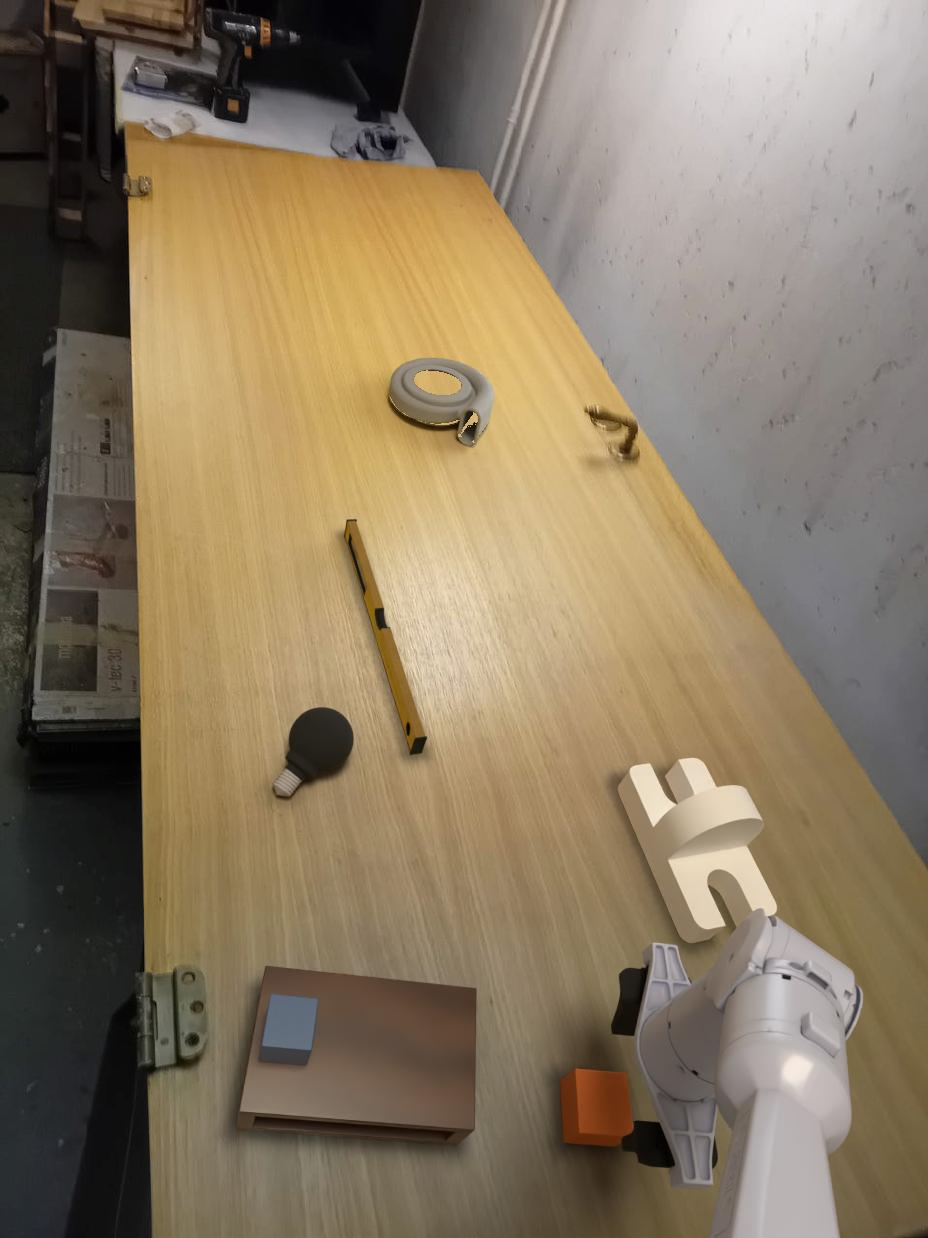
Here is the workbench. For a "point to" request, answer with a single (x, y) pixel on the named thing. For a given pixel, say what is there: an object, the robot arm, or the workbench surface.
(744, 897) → the cream double-notched bracket
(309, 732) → the light bulb
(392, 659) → the spirit level
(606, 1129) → the orange box
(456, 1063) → the shelf
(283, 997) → the blue box
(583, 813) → the workbench surface
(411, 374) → the turbocharger housing
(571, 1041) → the workbench surface
